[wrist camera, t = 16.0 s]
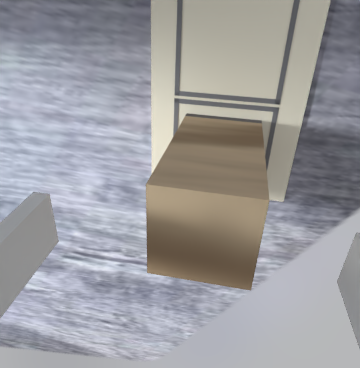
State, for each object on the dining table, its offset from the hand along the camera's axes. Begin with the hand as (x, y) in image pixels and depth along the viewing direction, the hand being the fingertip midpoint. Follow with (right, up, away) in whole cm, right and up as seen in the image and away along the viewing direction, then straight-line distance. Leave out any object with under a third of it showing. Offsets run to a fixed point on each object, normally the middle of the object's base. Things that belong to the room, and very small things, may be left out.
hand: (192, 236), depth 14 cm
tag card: (+2, +8, +7) cm, 11 cm away
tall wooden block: (+2, +5, +9) cm, 10 cm away
